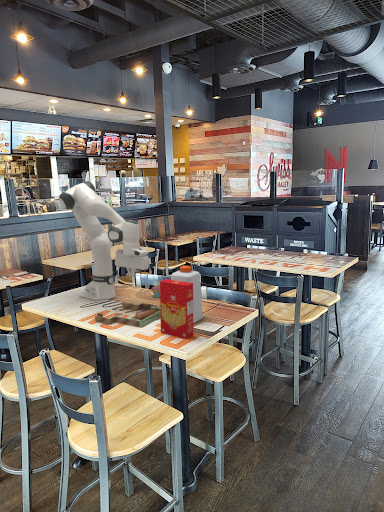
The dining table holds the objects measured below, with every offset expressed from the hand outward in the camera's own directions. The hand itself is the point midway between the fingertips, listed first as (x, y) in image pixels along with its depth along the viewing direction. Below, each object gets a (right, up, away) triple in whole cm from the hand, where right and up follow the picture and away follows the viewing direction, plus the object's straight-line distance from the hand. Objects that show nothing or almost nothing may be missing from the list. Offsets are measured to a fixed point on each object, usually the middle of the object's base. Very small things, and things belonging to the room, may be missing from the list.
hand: (131, 275), depth 207 cm
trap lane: (0, -22, -2) cm, 22 cm away
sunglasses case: (+6, -23, -5) cm, 24 cm away
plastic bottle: (+29, -23, -6) cm, 37 cm away
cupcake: (+11, -15, +36) cm, 41 cm away
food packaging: (+25, -26, -26) cm, 45 cm away
